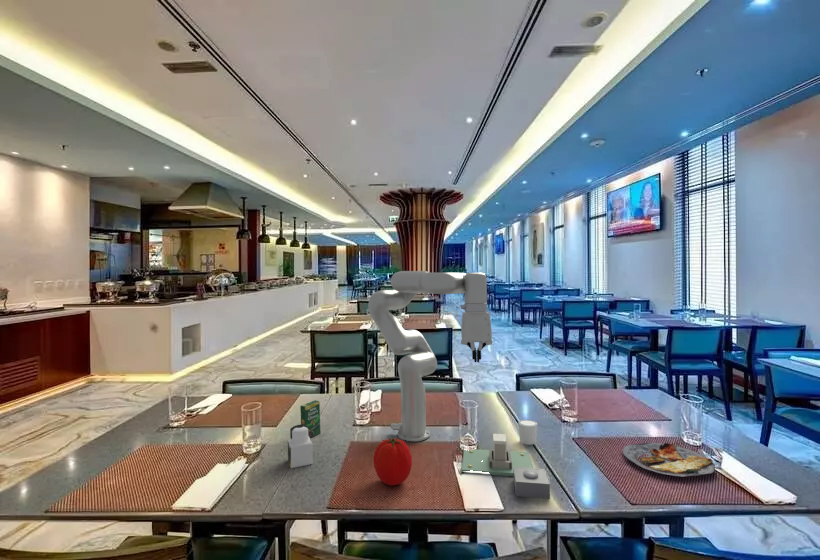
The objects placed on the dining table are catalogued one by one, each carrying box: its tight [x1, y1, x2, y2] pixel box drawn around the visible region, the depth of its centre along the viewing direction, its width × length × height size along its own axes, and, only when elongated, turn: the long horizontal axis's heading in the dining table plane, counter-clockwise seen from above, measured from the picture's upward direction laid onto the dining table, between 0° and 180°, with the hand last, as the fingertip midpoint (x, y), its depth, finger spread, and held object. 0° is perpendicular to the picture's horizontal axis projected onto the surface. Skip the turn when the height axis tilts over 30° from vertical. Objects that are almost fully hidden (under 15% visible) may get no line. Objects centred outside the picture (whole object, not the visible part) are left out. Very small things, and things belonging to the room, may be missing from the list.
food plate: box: [622, 442, 716, 478], centre depth 130 cm, size 25×23×4 cm
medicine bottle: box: [287, 424, 313, 469], centre depth 135 cm, size 7×7×12 cm
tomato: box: [372, 437, 413, 486], centre depth 120 cm, size 12×12×13 cm
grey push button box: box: [513, 467, 551, 499], centre depth 115 cm, size 9×9×5 cm
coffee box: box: [299, 399, 321, 439], centre depth 158 cm, size 8×3×13 cm, turn 147°
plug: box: [492, 433, 508, 461], centre depth 130 cm, size 4×6×8 cm, turn 169°
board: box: [461, 448, 534, 477], centre depth 132 cm, size 22×16×1 cm
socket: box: [488, 449, 512, 469], centre depth 130 cm, size 7×9×2 cm
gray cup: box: [517, 419, 538, 446], centre depth 149 cm, size 7×7×7 cm
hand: (476, 361), depth 139 cm, fingers closed
